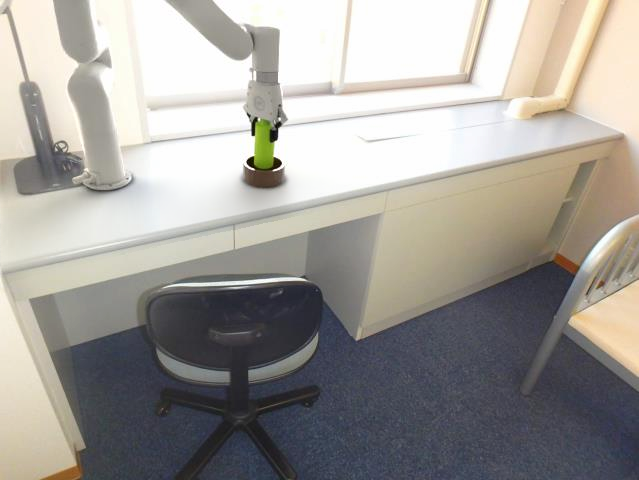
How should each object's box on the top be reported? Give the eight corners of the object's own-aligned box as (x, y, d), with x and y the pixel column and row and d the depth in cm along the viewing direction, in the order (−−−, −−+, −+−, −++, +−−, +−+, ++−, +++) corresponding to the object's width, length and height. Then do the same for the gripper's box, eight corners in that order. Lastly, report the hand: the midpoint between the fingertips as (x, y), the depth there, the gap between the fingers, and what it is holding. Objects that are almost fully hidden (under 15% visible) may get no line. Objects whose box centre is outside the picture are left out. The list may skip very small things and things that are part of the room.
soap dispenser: (259, 171, 132) (262, 106, 121) (251, 161, 137) (253, 97, 125) (277, 169, 135) (282, 105, 123) (268, 159, 140) (272, 96, 128)
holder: (267, 192, 132) (268, 175, 129) (235, 179, 137) (234, 162, 133) (291, 177, 141) (292, 161, 138) (260, 165, 146) (260, 150, 142)
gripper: (232, 71, 121) (233, 133, 132) (283, 85, 115) (280, 150, 125) (249, 66, 127) (249, 127, 137) (299, 80, 120) (295, 142, 130)
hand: (264, 137), depth 131 cm, fingers closed on soap dispenser, 6 cm apart
